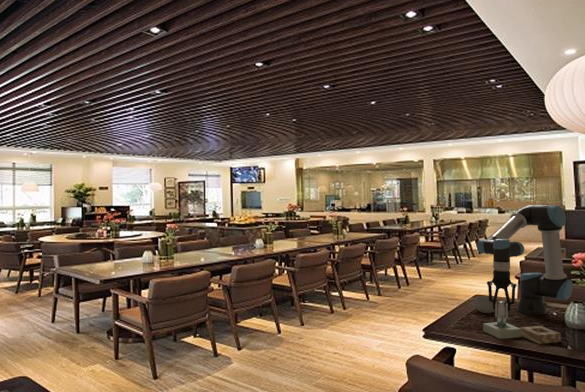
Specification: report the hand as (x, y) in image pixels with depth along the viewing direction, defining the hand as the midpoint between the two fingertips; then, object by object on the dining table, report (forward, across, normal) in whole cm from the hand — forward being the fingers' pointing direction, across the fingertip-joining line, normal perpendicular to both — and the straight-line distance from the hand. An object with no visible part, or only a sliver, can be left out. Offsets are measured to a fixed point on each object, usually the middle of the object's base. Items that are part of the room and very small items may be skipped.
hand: (501, 316), depth 208 cm
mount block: (+9, +16, +2) cm, 19 cm away
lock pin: (+5, 0, 0) cm, 5 cm away
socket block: (+9, 0, 0) cm, 9 cm away
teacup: (+9, -14, +40) cm, 43 cm away
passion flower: (+9, +12, +81) cm, 83 cm away
